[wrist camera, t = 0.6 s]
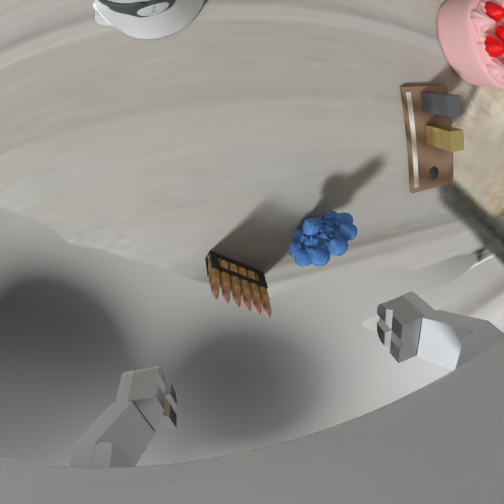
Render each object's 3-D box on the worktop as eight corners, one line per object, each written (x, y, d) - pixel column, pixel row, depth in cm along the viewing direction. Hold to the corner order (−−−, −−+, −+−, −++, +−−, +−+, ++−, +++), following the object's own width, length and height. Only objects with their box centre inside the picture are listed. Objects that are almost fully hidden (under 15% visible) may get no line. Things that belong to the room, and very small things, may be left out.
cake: (439, 77, 42) (494, 83, 30) (428, -14, 33) (478, -26, 20) (496, 91, 44) (544, 102, 32) (489, 12, 34) (535, 11, 22)
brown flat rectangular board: (399, 86, 43) (403, 87, 42) (443, 85, 43) (447, 85, 42) (409, 191, 53) (413, 193, 52) (449, 181, 53) (452, 182, 52)
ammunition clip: (263, 272, 56) (278, 314, 46) (258, 280, 57) (271, 323, 46) (209, 250, 52) (212, 291, 42) (205, 259, 53) (207, 301, 43)
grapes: (321, 183, 50) (352, 208, 39) (342, 210, 53) (375, 241, 42) (268, 228, 52) (286, 264, 42) (292, 253, 55) (313, 291, 45)
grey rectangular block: (420, 92, 43) (445, 95, 36) (433, 92, 43) (459, 95, 36) (422, 111, 44) (447, 116, 38) (436, 110, 44) (461, 115, 38)
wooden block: (425, 125, 45) (449, 131, 39) (438, 123, 45) (463, 129, 39) (426, 143, 47) (450, 151, 41) (439, 141, 47) (463, 149, 41)
